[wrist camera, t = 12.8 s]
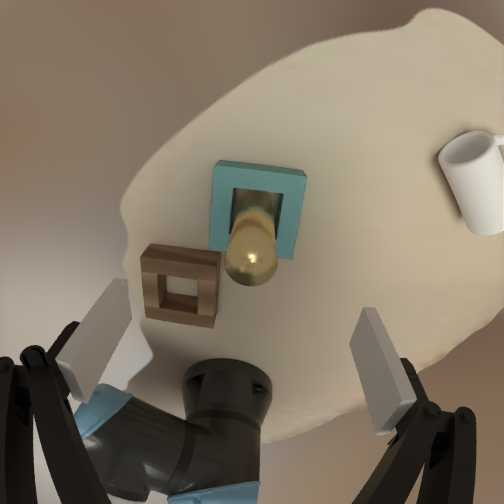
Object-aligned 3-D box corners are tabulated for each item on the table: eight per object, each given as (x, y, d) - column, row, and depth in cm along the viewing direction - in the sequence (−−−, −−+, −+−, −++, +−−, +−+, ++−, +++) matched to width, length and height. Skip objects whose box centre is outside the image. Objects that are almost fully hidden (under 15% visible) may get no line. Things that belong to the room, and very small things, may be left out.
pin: (270, 221, 34) (272, 288, 21) (238, 217, 34) (222, 282, 21) (274, 190, 32) (280, 243, 20) (241, 186, 32) (226, 236, 20)
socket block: (289, 245, 35) (292, 259, 32) (213, 236, 35) (208, 249, 32) (302, 170, 31) (307, 177, 28) (219, 160, 31) (214, 165, 28)
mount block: (216, 311, 40) (213, 328, 37) (153, 302, 40) (145, 317, 37) (220, 252, 36) (216, 266, 33) (150, 243, 36) (140, 256, 33)
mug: (455, 221, 33) (489, 246, 25) (426, 159, 29) (463, 173, 22) (507, 174, 29) (543, 191, 22) (483, 112, 26) (523, 119, 19)
